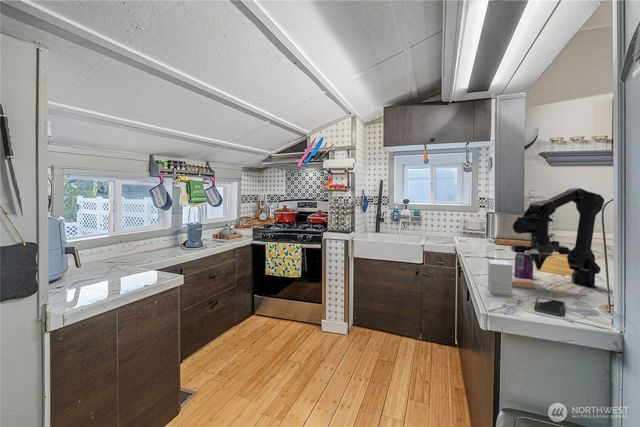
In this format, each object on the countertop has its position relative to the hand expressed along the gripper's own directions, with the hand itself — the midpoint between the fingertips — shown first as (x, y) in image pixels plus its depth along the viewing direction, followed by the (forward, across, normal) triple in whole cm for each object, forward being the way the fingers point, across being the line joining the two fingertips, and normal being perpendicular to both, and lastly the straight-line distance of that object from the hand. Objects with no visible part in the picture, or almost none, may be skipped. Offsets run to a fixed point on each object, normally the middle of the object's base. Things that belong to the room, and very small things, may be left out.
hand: (538, 269), depth 118 cm
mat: (+8, -5, 0) cm, 9 cm away
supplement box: (+8, -17, -12) cm, 22 cm away
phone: (+8, -4, -23) cm, 25 cm away
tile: (+6, -2, 0) cm, 7 cm away
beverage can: (+8, -1, +16) cm, 18 cm away
